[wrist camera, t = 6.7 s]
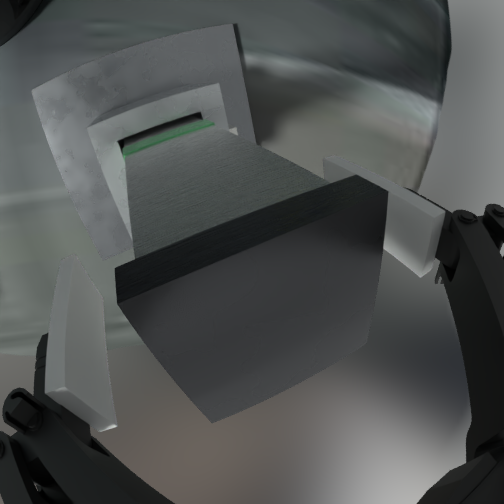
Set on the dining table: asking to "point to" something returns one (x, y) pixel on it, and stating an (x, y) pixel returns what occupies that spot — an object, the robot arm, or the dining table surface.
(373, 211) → the column
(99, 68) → the stand
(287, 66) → the dining table surface
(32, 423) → the robot arm
